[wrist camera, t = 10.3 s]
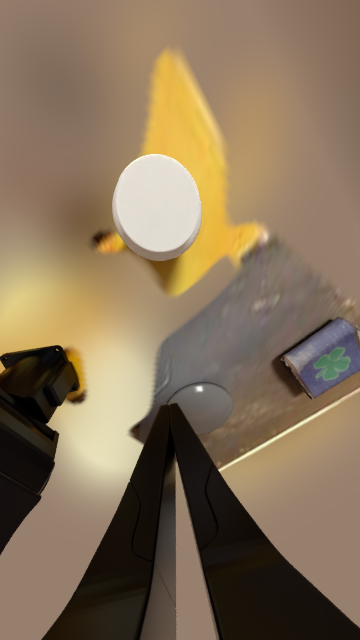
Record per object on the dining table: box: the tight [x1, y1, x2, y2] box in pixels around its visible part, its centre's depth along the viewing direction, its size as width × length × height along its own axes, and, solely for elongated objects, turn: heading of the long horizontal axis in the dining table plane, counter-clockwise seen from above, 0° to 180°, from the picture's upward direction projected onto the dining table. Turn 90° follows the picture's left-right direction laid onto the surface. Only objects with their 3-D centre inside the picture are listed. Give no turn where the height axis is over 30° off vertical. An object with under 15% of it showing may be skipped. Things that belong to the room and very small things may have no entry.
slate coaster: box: [167, 382, 233, 435], centre depth 27 cm, size 10×10×1 cm
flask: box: [281, 317, 360, 400], centre depth 25 cm, size 9×3×11 cm
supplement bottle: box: [112, 154, 202, 261], centre depth 13 cm, size 5×5×10 cm
